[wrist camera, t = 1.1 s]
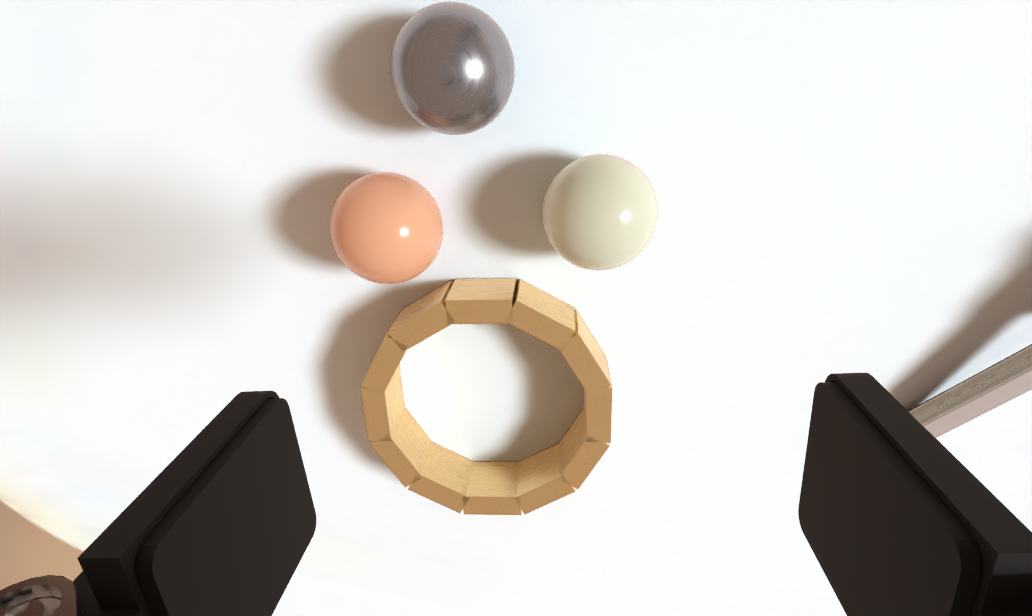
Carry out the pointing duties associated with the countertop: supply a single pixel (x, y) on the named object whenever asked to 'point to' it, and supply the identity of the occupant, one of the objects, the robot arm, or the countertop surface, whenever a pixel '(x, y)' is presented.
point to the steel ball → (452, 68)
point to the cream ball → (600, 212)
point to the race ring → (453, 474)
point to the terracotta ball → (386, 228)
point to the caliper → (977, 394)
